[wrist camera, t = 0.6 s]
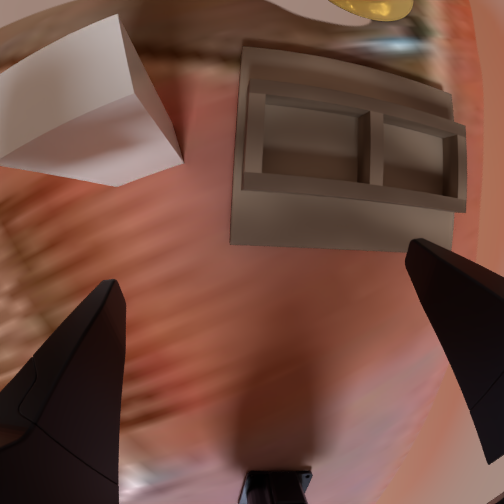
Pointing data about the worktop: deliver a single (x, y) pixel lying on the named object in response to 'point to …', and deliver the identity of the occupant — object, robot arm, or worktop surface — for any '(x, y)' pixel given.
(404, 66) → the worktop surface
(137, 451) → the worktop surface
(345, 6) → the cup
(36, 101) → the clay block
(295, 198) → the rack
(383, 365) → the worktop surface
